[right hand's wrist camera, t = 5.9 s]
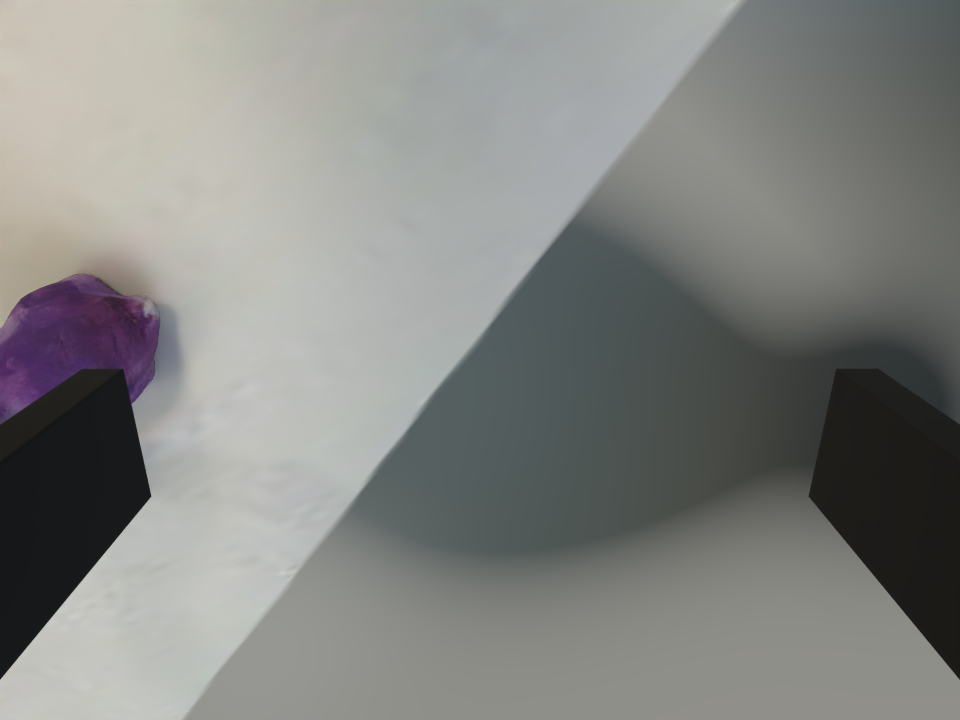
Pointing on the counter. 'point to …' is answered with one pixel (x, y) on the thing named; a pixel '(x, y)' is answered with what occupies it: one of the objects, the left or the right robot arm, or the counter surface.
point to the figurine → (74, 339)
